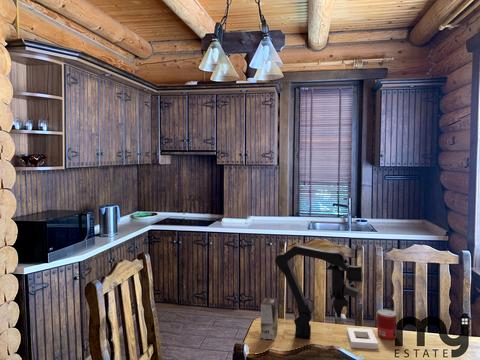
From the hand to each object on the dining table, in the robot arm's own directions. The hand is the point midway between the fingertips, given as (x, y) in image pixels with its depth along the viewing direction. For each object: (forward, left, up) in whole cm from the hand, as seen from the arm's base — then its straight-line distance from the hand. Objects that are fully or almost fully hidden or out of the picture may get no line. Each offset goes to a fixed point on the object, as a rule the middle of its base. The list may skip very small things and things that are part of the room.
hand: (338, 315), depth 155 cm
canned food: (+22, +9, -12) cm, 27 cm away
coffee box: (-31, +2, -12) cm, 33 cm away
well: (+10, +3, -12) cm, 16 cm away
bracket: (+1, 0, -2) cm, 2 cm away
